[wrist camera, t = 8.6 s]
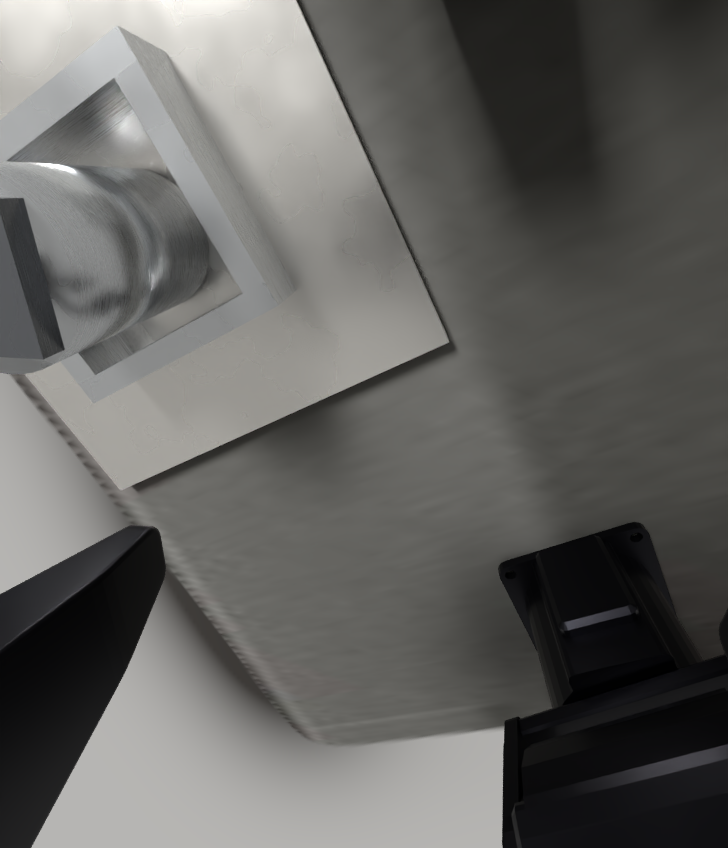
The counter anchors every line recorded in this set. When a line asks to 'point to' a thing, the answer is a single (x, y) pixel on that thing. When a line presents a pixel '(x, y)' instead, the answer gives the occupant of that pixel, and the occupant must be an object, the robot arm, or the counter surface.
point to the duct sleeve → (89, 257)
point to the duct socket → (215, 218)
